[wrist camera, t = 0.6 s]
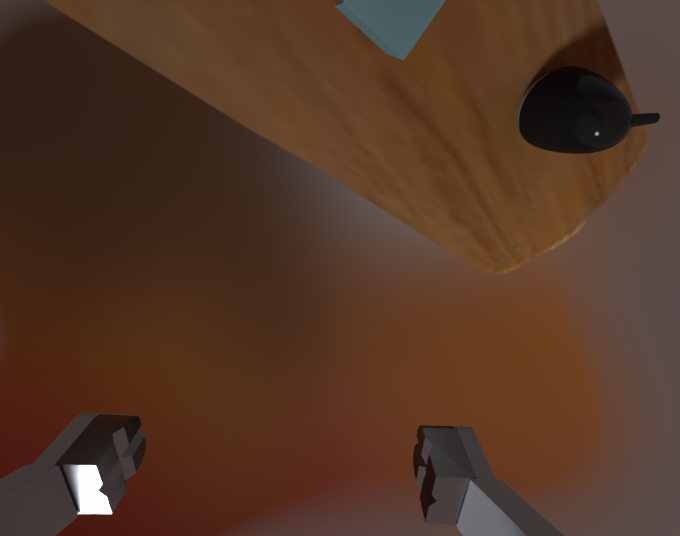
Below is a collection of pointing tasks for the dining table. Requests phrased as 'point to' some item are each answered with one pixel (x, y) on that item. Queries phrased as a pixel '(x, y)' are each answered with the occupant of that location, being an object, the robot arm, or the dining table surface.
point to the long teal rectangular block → (391, 21)
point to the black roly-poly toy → (576, 112)
